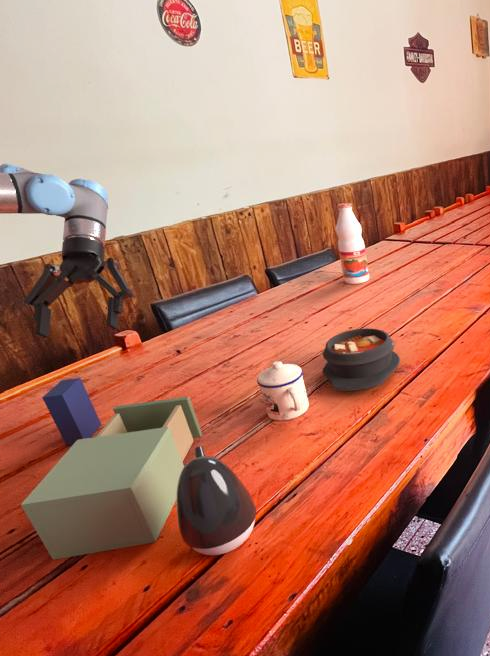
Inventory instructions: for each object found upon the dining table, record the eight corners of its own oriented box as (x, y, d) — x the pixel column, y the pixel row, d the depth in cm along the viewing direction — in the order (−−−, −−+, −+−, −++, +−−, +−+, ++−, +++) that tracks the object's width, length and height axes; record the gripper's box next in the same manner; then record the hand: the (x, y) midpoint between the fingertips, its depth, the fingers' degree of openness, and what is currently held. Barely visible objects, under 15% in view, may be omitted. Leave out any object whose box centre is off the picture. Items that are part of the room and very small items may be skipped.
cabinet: (101, 489, 90) (77, 439, 85) (188, 476, 92) (168, 426, 87) (52, 559, 76) (20, 504, 71) (155, 542, 78) (130, 487, 73)
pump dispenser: (257, 506, 84) (233, 430, 78) (266, 548, 76) (240, 467, 69) (189, 530, 80) (157, 452, 73) (190, 578, 72) (154, 495, 65)
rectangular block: (66, 446, 103) (42, 397, 98) (84, 426, 109) (62, 379, 104) (85, 443, 103) (62, 394, 98) (102, 424, 110) (80, 377, 105)
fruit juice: (366, 274, 197) (354, 200, 184) (372, 281, 189) (361, 204, 177) (341, 279, 193) (328, 203, 181) (347, 286, 185) (333, 207, 173)
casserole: (401, 392, 115) (396, 359, 111) (317, 402, 113) (309, 369, 109) (400, 345, 137) (397, 317, 134) (330, 353, 135) (324, 324, 132)
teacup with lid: (260, 410, 111) (246, 363, 106) (300, 394, 116) (289, 349, 111) (281, 433, 103) (268, 383, 98) (323, 415, 108) (312, 366, 103)
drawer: (140, 431, 104) (125, 394, 100) (208, 422, 106) (195, 385, 102) (97, 494, 88) (76, 452, 84) (178, 481, 90) (161, 439, 86)
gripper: (152, 247, 120) (149, 330, 114) (34, 258, 116) (25, 345, 110) (135, 229, 113) (131, 317, 107) (9, 241, 109) (-3, 332, 103)
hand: (77, 331), depth 108 cm, fingers open, 13 cm apart
